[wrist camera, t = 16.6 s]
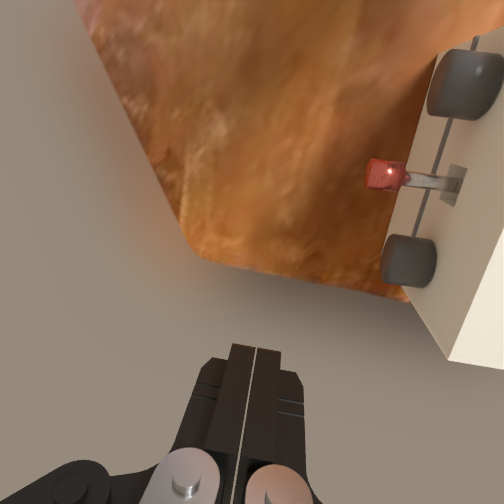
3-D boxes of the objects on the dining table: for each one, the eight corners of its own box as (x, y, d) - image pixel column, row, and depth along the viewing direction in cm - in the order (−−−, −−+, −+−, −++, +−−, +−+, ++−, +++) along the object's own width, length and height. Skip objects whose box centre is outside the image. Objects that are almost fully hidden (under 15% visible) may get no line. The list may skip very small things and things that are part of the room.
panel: (436, 53, 34) (603, -20, 16) (510, 62, 34) (770, -3, 15) (379, 254, 43) (444, 359, 24) (438, 263, 42) (550, 377, 24)
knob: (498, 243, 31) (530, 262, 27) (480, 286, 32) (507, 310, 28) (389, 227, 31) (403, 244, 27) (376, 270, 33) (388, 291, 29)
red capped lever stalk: (476, 170, 28) (491, 175, 26) (465, 199, 29) (480, 206, 27) (368, 156, 28) (375, 159, 26) (361, 185, 29) (367, 190, 27)
